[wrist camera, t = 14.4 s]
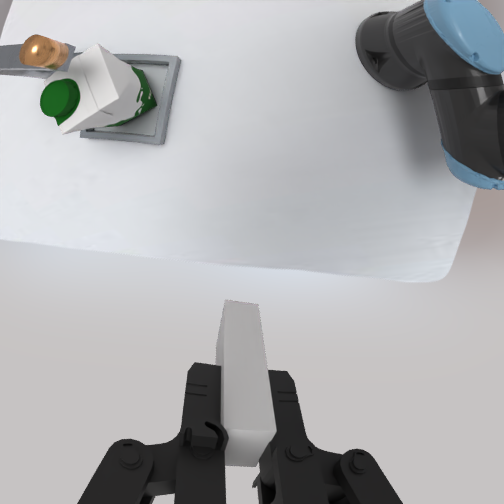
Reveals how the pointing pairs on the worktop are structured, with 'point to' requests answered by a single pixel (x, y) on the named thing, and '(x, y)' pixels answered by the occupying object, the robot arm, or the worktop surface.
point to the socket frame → (164, 105)
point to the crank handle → (37, 55)
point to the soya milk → (96, 92)
